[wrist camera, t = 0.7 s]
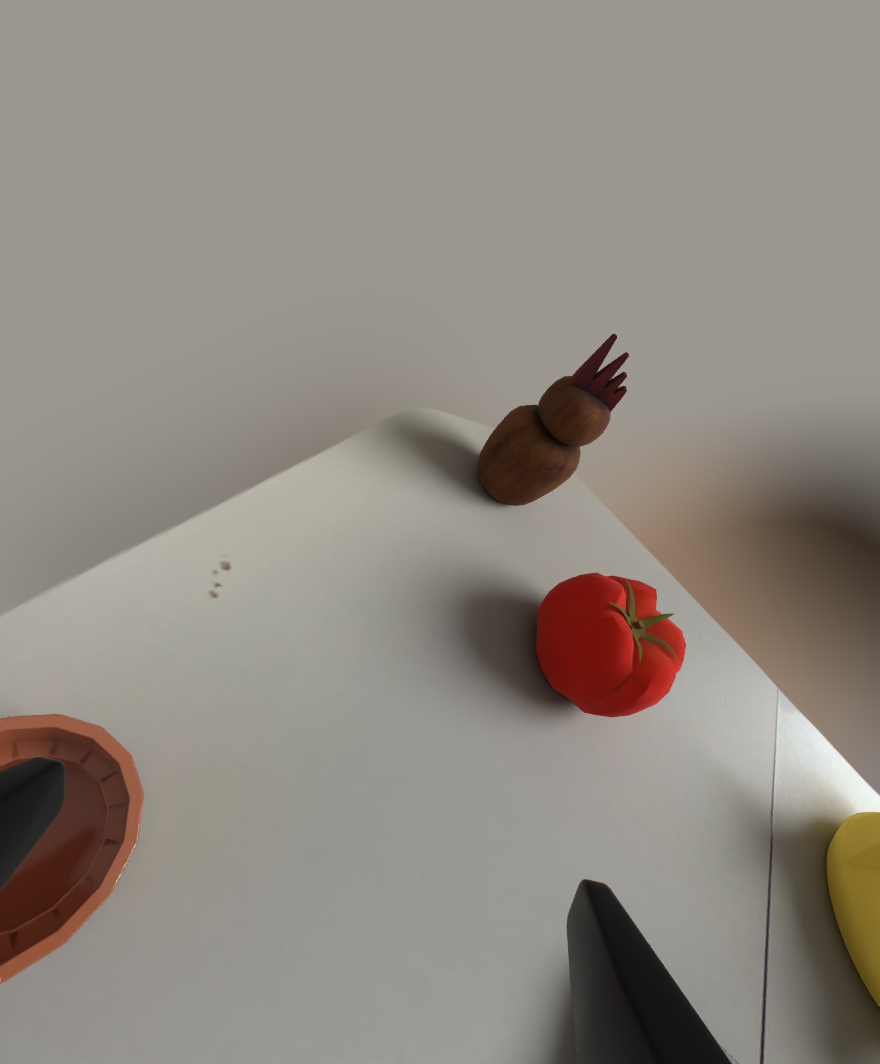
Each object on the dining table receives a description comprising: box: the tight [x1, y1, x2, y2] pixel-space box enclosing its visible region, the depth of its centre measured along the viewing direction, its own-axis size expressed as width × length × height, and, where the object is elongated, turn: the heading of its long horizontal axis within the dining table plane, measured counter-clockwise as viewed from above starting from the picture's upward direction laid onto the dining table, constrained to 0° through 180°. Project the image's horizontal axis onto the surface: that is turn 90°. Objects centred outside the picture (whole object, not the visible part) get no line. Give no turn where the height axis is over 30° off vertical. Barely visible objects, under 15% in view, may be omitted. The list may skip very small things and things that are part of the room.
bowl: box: [0, 714, 144, 983], centre depth 15 cm, size 7×7×4 cm
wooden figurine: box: [477, 334, 629, 506], centre depth 35 cm, size 7×6×15 cm
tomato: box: [536, 573, 686, 717], centre depth 32 cm, size 9×9×8 cm
